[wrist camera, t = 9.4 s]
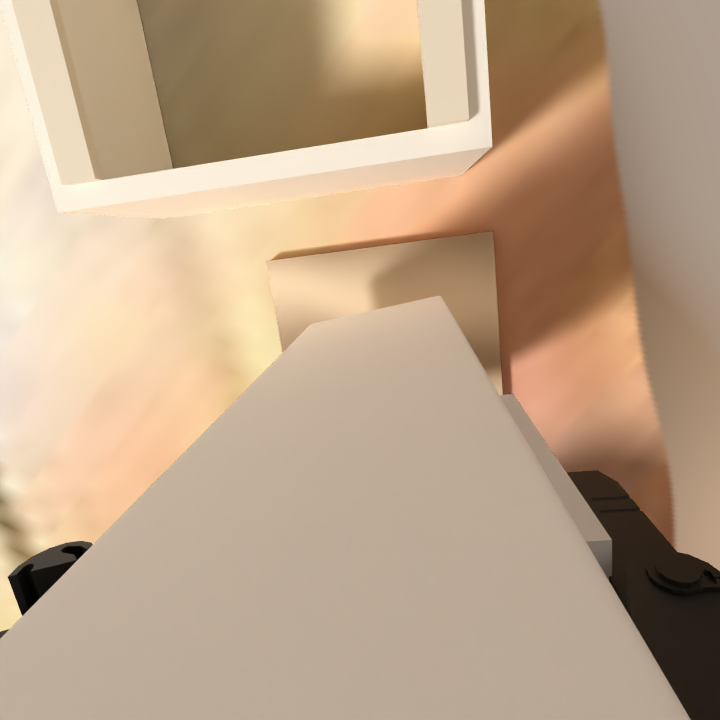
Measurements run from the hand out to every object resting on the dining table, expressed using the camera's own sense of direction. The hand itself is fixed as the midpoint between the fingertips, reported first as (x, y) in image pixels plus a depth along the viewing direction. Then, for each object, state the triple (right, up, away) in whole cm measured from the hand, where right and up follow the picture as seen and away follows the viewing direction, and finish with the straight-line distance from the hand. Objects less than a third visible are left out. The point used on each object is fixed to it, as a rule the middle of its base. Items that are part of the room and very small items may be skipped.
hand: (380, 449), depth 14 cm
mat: (+1, +3, +11) cm, 11 cm away
